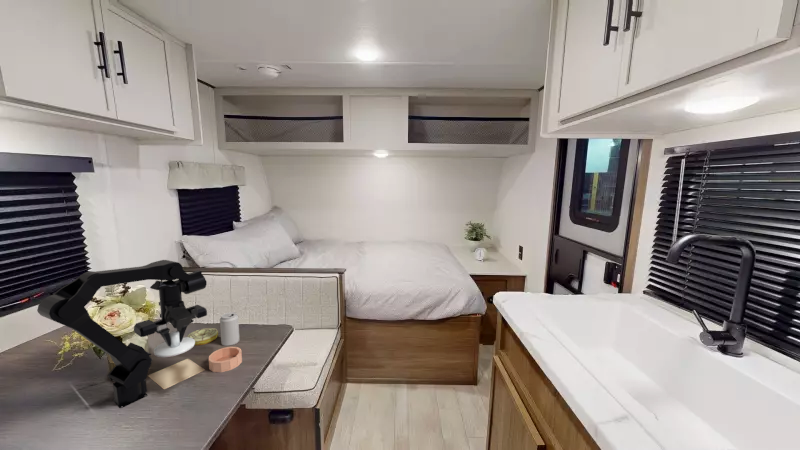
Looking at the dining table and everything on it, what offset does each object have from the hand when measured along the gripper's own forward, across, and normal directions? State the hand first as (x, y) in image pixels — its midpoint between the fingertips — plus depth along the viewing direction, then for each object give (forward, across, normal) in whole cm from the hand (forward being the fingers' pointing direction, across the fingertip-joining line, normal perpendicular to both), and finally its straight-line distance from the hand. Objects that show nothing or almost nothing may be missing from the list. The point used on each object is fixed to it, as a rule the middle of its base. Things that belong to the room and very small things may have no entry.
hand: (174, 343), depth 102 cm
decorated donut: (+11, +16, +16) cm, 25 cm away
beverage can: (+11, +21, +5) cm, 24 cm away
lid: (+1, 0, 0) cm, 1 cm away
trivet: (+11, 0, 0) cm, 11 cm away
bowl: (+11, +12, -8) cm, 18 cm away
